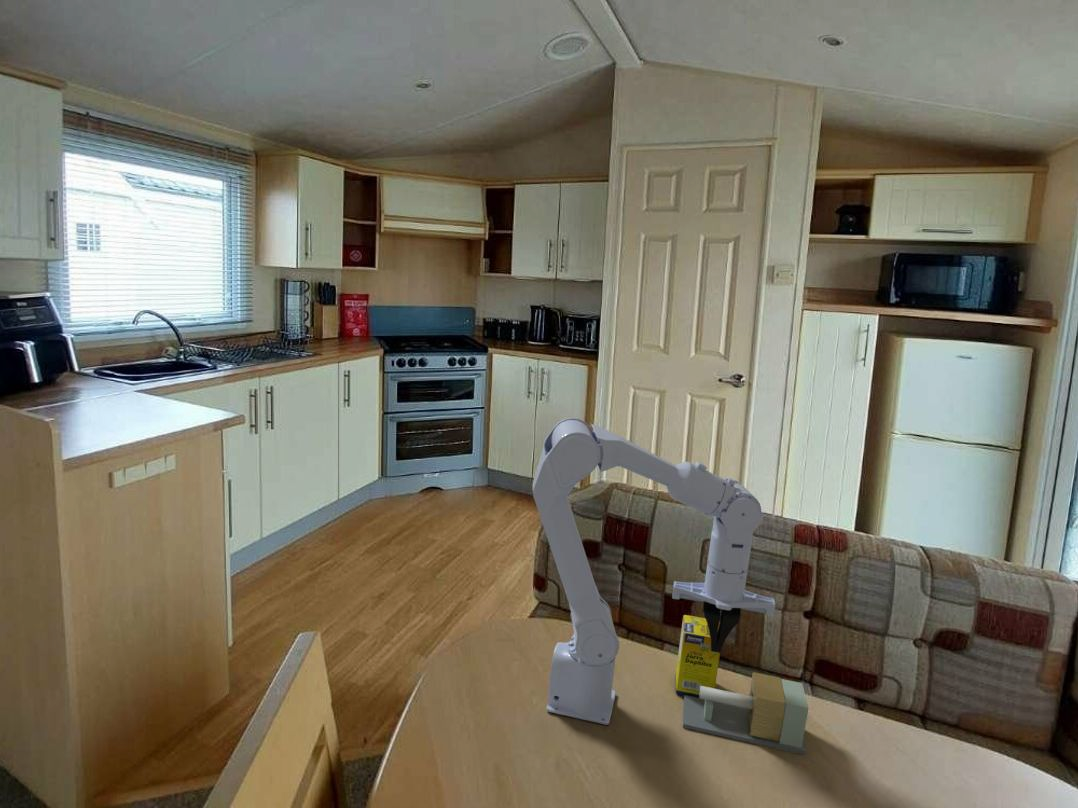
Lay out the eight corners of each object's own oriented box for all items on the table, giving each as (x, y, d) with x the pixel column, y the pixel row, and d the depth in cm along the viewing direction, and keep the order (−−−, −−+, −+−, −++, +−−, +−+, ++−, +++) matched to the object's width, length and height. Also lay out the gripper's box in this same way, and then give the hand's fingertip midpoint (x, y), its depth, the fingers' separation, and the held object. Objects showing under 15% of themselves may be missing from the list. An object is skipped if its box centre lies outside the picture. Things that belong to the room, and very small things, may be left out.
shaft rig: (682, 727, 95) (688, 685, 94) (684, 698, 102) (689, 658, 101) (805, 754, 92) (812, 711, 90) (798, 722, 98) (805, 681, 97)
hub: (750, 735, 93) (756, 697, 92) (747, 708, 99) (752, 672, 98) (779, 741, 93) (785, 703, 91) (774, 714, 99) (780, 677, 97)
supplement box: (713, 702, 102) (723, 639, 99) (675, 695, 103) (683, 632, 101) (711, 680, 107) (720, 620, 105) (675, 673, 108) (682, 613, 106)
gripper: (676, 568, 93) (665, 653, 96) (782, 586, 90) (768, 673, 92) (677, 548, 99) (667, 628, 102) (777, 565, 96) (763, 647, 99)
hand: (715, 648), depth 98 cm, fingers closed
